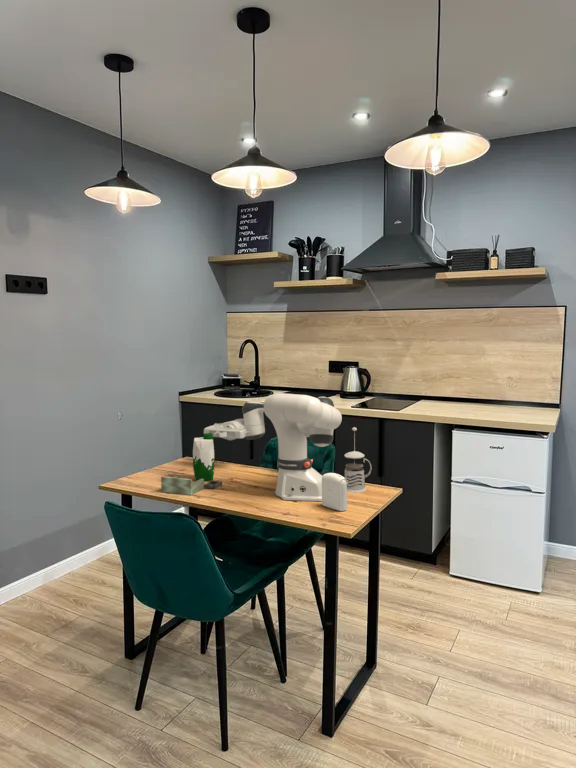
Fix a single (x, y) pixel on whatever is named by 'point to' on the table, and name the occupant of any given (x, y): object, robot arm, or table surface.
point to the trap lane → (186, 485)
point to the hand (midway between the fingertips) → (217, 435)
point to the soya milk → (203, 457)
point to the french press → (355, 485)
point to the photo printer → (334, 491)
